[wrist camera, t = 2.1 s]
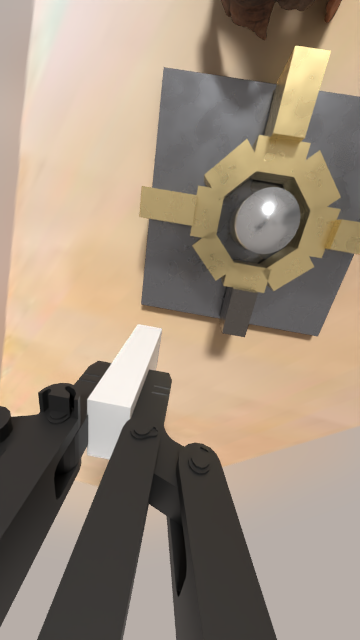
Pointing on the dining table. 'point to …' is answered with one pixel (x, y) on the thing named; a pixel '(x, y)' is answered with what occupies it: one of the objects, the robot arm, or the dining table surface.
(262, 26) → the pottery mug
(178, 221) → the ring nut
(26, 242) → the dining table surface
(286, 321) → the flange plate
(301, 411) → the dining table surface
